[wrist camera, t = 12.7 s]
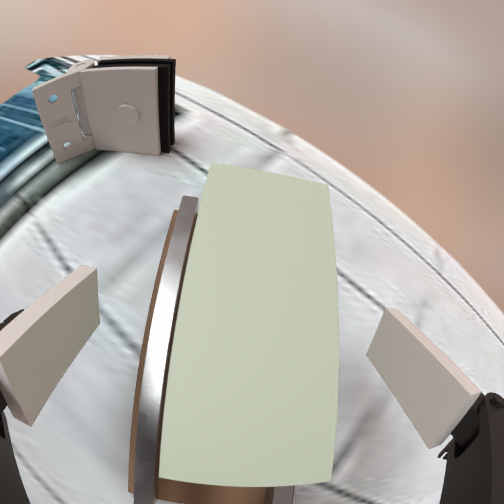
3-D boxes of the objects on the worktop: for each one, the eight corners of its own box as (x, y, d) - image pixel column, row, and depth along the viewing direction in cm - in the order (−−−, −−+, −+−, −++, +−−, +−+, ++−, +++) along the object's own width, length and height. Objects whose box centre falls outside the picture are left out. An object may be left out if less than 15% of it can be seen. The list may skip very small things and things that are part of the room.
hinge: (55, 165, 23) (29, 91, 15) (70, 135, 26) (53, 66, 17) (172, 156, 26) (172, 68, 17) (177, 127, 29) (179, 48, 20)
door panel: (185, 420, 14) (158, 477, 4) (202, 291, 19) (211, 162, 9) (248, 427, 15) (330, 481, 5) (258, 299, 19) (328, 185, 9)
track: (131, 487, 12) (121, 501, 9) (174, 216, 23) (172, 194, 20) (287, 501, 13) (301, 516, 10) (301, 237, 24) (313, 218, 21)
